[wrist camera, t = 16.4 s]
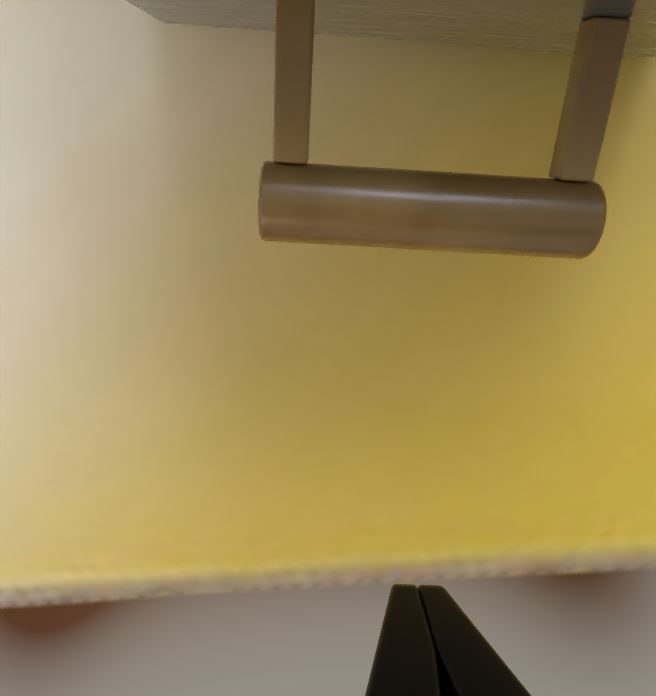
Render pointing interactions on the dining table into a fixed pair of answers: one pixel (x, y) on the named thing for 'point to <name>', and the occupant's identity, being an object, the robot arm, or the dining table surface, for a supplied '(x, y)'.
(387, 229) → the drawer
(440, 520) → the dining table surface
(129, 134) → the dining table surface
